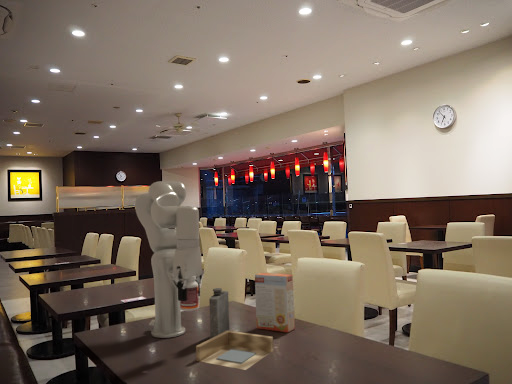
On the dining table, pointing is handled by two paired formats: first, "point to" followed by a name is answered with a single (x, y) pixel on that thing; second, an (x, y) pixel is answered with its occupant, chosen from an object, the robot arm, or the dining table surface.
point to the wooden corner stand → (234, 341)
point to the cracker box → (274, 302)
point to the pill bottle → (191, 296)
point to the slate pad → (236, 356)
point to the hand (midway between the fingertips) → (189, 297)
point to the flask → (219, 312)
